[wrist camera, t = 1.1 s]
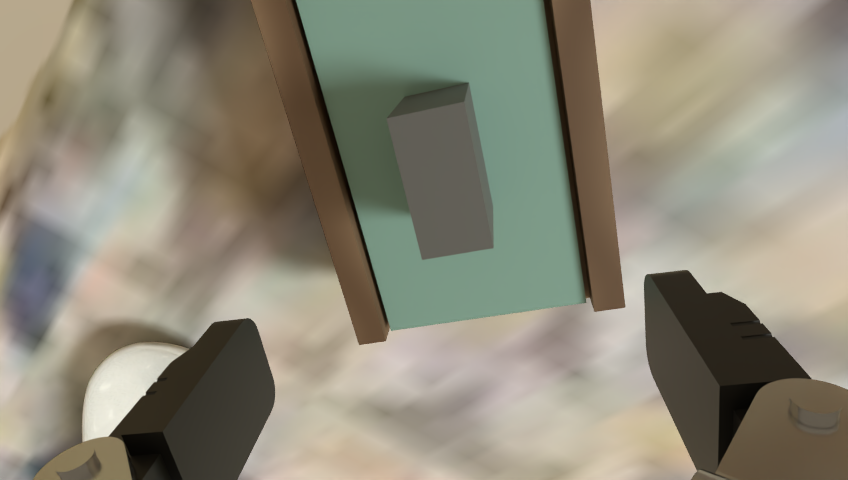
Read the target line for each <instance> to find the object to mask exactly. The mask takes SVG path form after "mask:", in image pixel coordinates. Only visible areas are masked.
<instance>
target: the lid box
mask: <svg viewBox="0 0 848 480" xmlns="http://www.w3.org/2000/svg"><path fill="white" fill-rule="evenodd" d="M543 1H544V9H545V16H546V23H547V30H548V37H549V44H550V51H551V58H552V65H553V72H554V79H555V86H556V93H557V100H558V107H559V114H560V121H561V128H562V135H563V142H564V149H565V156H566V163H567V170H568V177H569V184H570V192H571V199H572V206H573V213H574V220H575V227H576V234H577V241H578V248H579V255H580V262H581V269H582V276H583V283H584V290H585V297H586V298H590V299H591V302H592V305H593V308H594V312H597V311H604V310H611V309H618V308H625V300H624V291H623V283H622V274H621V265H620V256H619V248H618V239H617V230H616V221H615V213H614V204H613V195H612V187H611V178H610V169H609V160H608V152H607V143H606V134H605V125H604V117H603V108H602V99H601V90H600V82H599V73H598V64H597V55H596V47H595V38H594V29H593V21H592V12H591V3H590V0H543ZM251 2H252V6H253V9H254V12H255V15H256V18H257V22H258V25H259V28H260V31H261V34H262V37H263V41H264V44H265V47H266V50H267V53H268V57H269V60H270V63H271V66H272V69H273V72H274V76H275V79H276V82H277V85H278V88H279V91H280V95H281V98H282V101H283V104H284V107H285V111H286V114H287V117H288V120H289V123H290V126H291V130H292V133H293V136H294V139H295V142H296V146H297V149H298V152H299V155H300V158H301V161H302V165H303V168H304V171H305V174H306V177H307V180H308V184H309V187H310V190H311V193H312V196H313V200H314V203H315V206H316V209H317V212H318V215H319V219H320V222H321V225H322V228H323V231H324V235H325V238H326V241H327V244H328V247H329V250H330V254H331V257H332V260H333V263H334V266H335V269H336V273H337V276H338V279H339V282H340V285H341V289H342V292H343V295H344V298H345V301H346V304H347V308H348V311H349V314H350V317H351V320H352V324H353V327H354V330H355V333H356V336H357V339H358V343H359V345H362V344H369V343H376V342H383V341H386V338H387V335H388V332H389V328H390V325H389V322H388V318H387V315H386V311H385V308H384V304H383V301H382V297H381V294H380V290H379V287H378V284H377V280H376V277H375V273H374V270H373V266H372V263H371V259H370V256H369V252H368V249H367V245H366V242H365V238H364V235H363V231H362V228H361V225H360V221H359V218H358V214H357V211H356V207H355V204H354V200H353V197H352V193H351V190H350V186H349V183H348V179H347V176H346V172H345V169H344V165H343V162H342V159H341V155H340V152H339V148H338V145H337V141H336V138H335V134H334V131H333V127H332V124H331V120H330V117H329V113H328V110H327V106H326V103H325V100H324V96H323V93H322V89H321V86H320V82H319V79H318V75H317V72H316V68H315V65H314V61H313V58H312V54H311V51H310V47H309V44H308V40H307V37H306V34H305V30H304V27H303V23H302V20H301V16H300V13H299V9H298V6H297V2H296V0H251Z"/></svg>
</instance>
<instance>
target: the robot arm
mask: <svg viewBox="0 0 848 480" xmlns="http://www.w3.org/2000/svg"><path fill="white" fill-rule="evenodd" d="M644 300H645V330H646V350H647V357H648V362H649V366H650V370H651V373H652V376H653V378H654V380H655V382H656V385H657V387H658V389H659V391H660V393H661V395H662V397H663V399H664V402H665V404H666V406H667V408H668V410H669V412H670V414H671V416H672V419H673V421H674V423H675V425H676V427H677V429H678V431H679V433H680V436H681V438H682V440H683V442H684V444H685V446H686V448H687V450H688V453H689V455H690V457H691V459H692V461H693V463H694V465H695V467H696V470H697V472H696V473H695V474H694V476H693V477H692V479H691V480H848V390H847V389H845V388H842V387H840V386H837V385H834V384H831V383H827V382H823V381H818V380H812V379H811V378H810V376H809V375H808V374H807V373H806V372H805V371H804V370H803V369H802V367H801V366H800V365H799V364H798V363H797V362H796V361H795V360H794V358H793V357H792V356H791V355H790V354H789V353H788V352H787V351H786V349H785V348H784V347H783V346H782V345H781V344H780V343H779V342H778V340H777V339H776V338H775V337H772V335H771V333H770V331H769V330H768V329H767V328H766V327H765V326H764V325H763V324H760V320H759V319H758V318H757V317H756V316H755V315H754V313H753V312H752V311H751V310H750V309H749V308H748V307H747V306H746V304H744V303H742V302H740V301H738V300H736V299H734V298H732V297H730V296H728V295H726V294H724V293H722V292H717V293H708V294H707V293H706V292H705V291H704V290H703V288H702V287H701V286H700V284H699V283H698V282H697V281H696V279H695V278H694V277H693V276H692V274H691V273H690V272H689V271H688V270H682V271H674V272H665V273H656V274H647V275H646V276H645V280H644ZM274 400H275V385H274V380H273V376H272V373H271V370H270V367H269V364H268V360H267V357H266V354H265V351H264V348H263V345H262V341H261V338H260V335H259V332H258V329H257V326H256V324H255V323H254V321H252V320H251V319H249V318H247V319H238V320H229V321H220V322H214V323H213V324H212V325H211V326H210V327H209V328H208V329H207V330H206V332H205V333H204V334H203V335H202V337H201V338H200V339H199V340H198V342H197V343H196V344H195V345H194V346H193V347H192V348H190V349H189V350H187V351H186V352H185V353H183V354H182V355H180V356H179V357H178V358H176V359H175V360H173V361H172V362H171V363H170V364H169V365H168V366H167V367H166V369H165V370H164V371H163V372H162V373H161V375H160V376H159V377H158V378H157V382H154V383H153V384H152V385H151V386H150V388H149V389H148V390H147V391H146V395H145V396H142V397H141V398H140V399H139V401H138V402H137V403H136V404H135V405H134V407H133V408H132V409H131V410H130V411H129V412H128V414H127V415H126V416H125V417H124V418H123V420H122V421H121V422H120V423H119V424H118V425H117V427H116V428H115V429H114V430H113V431H112V433H111V434H110V435H109V436H108V437H99V438H95V439H91V440H88V441H85V442H82V443H80V444H77V445H75V446H73V447H71V448H69V449H67V450H65V451H64V452H62V453H60V454H59V455H57V456H56V457H54V458H53V459H52V460H51V461H49V462H48V463H47V464H46V465H45V466H44V467H43V468H41V470H40V471H39V472H38V473H37V474H36V476H35V477H34V479H33V480H237V479H238V477H239V475H240V473H241V471H242V469H243V467H244V465H245V463H246V461H247V459H248V457H249V455H250V453H251V451H252V449H253V447H254V445H255V443H256V441H257V439H258V437H259V435H260V433H261V431H262V429H263V427H264V425H265V423H266V421H267V419H268V417H269V415H270V413H271V411H272V408H273V405H274Z"/></svg>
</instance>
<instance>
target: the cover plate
mask: <svg viewBox="0 0 848 480" xmlns="http://www.w3.org/2000/svg"><path fill="white" fill-rule="evenodd" d="M296 2H297V6H298V9H299V13H300V16H301V20H302V23H303V27H304V30H305V34H306V37H307V40H308V44H309V47H310V51H311V54H312V58H313V61H314V65H315V68H316V72H317V75H318V79H319V82H320V86H321V89H322V93H323V96H324V100H325V103H326V106H327V110H328V113H329V117H330V120H331V124H332V127H333V131H334V134H335V138H336V141H337V145H338V148H339V152H340V155H341V159H342V162H343V165H344V169H345V172H346V176H347V179H348V183H349V186H350V190H351V193H352V197H353V200H354V204H355V207H356V211H357V214H358V218H359V221H360V225H361V228H362V231H363V235H364V238H365V242H366V245H367V249H368V252H369V256H370V259H371V263H372V266H373V270H374V273H375V277H376V280H377V284H378V287H379V290H380V294H381V297H382V301H383V304H384V308H385V311H386V315H387V318H388V322H389V325H390V329H391V331H393V330H400V329H407V328H414V327H421V326H428V325H434V324H441V323H448V322H455V321H462V320H469V319H476V318H483V317H490V316H497V315H504V314H511V313H518V312H525V311H532V310H539V309H546V308H553V307H560V306H566V305H573V304H580V303H586V297H585V290H584V283H583V276H582V269H581V262H580V255H579V248H578V241H577V234H576V227H575V220H574V213H573V206H572V199H571V192H570V184H569V177H568V170H567V163H566V156H565V149H564V142H563V135H562V128H561V121H560V114H559V107H558V100H557V93H556V86H555V79H554V72H553V65H552V58H551V51H550V44H549V37H548V30H547V23H546V16H545V9H544V1H543V0H296Z"/></svg>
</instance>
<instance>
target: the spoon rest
mask: <svg viewBox="0 0 848 480" xmlns="http://www.w3.org/2000/svg"><path fill="white" fill-rule="evenodd" d="M187 350H189V349H188V348H185V347H182V346H179V345H174V344H169V343H162V342H141V343H135V344H130V345H127V346H124V347H122V348H120V349H118V350H116V351H115V352H113V353H112V354H110V355H109V356H108V357H106V358H105V359H104V360H103V361H102V362H101V363H100V365H99V366H98V367H97V368H96V369H95V371H94V373H93V374H92V376H91V378H90V380H89V383H88V385H87V388H86V392H85V398H84V403H83V414H82V442H85V441H88V440H91V439H95V438H99V437H108V436H109V435H110V434H111V433H112V431H113V430H114V429H115V428H116V427H117V425H118V424H119V423H120V422H121V421H122V420H123V418H124V417H125V416H126V415H127V414H128V412H129V411H130V410H131V409H132V408H133V407H134V405H135V404H136V403H137V402H138V401H139V399H140V398H141V397H142V396H145V395H146V391H147V390H148V389H149V388H150V386H151V385H152V384H153V383H154V382H157V378H158V377H159V376H160V375H161V373H162V372H163V371H164V370H165V369H166V367H167V366H168V365H169V364H170V363H171V362H172V361H173V360H175V359H176V358H178V357H179V356H180V355H182V354H183V353H185V352H186V351H187Z"/></svg>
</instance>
